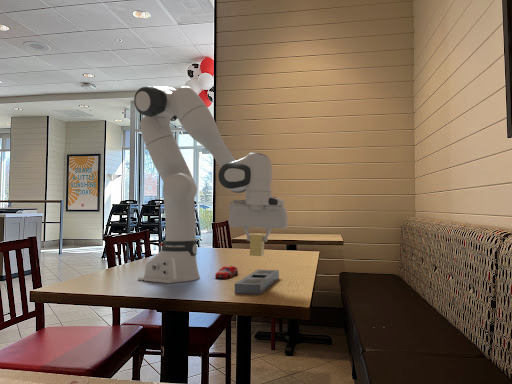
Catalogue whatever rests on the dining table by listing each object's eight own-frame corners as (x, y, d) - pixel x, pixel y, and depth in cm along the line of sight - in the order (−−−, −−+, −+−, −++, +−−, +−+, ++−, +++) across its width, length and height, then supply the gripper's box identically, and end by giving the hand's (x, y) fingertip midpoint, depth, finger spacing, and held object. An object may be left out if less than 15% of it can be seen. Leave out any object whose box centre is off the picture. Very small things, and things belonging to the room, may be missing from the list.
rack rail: (234, 293, 114) (234, 283, 114) (258, 277, 141) (257, 269, 141) (260, 294, 112) (260, 284, 112) (278, 278, 139) (278, 270, 139)
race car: (226, 280, 137) (226, 269, 137) (212, 280, 139) (212, 269, 139) (240, 274, 149) (240, 264, 150) (227, 273, 151) (227, 263, 151)
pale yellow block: (249, 255, 126) (250, 234, 126) (252, 253, 130) (253, 233, 130) (261, 256, 125) (261, 235, 125) (263, 254, 129) (264, 234, 129)
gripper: (226, 199, 128) (225, 240, 127) (285, 200, 123) (284, 243, 122) (232, 200, 134) (231, 239, 133) (288, 201, 129) (288, 241, 128)
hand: (257, 241), depth 128 cm, fingers closed on pale yellow block, 4 cm apart
